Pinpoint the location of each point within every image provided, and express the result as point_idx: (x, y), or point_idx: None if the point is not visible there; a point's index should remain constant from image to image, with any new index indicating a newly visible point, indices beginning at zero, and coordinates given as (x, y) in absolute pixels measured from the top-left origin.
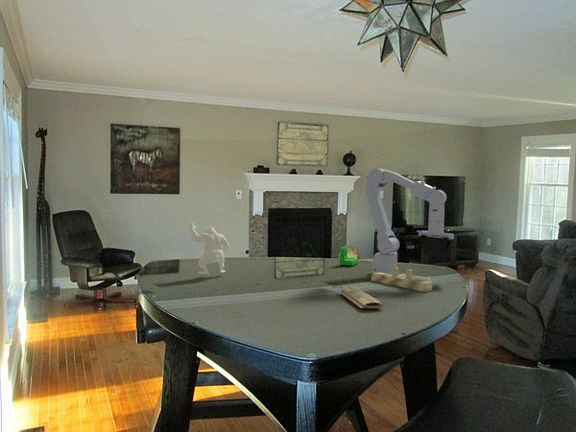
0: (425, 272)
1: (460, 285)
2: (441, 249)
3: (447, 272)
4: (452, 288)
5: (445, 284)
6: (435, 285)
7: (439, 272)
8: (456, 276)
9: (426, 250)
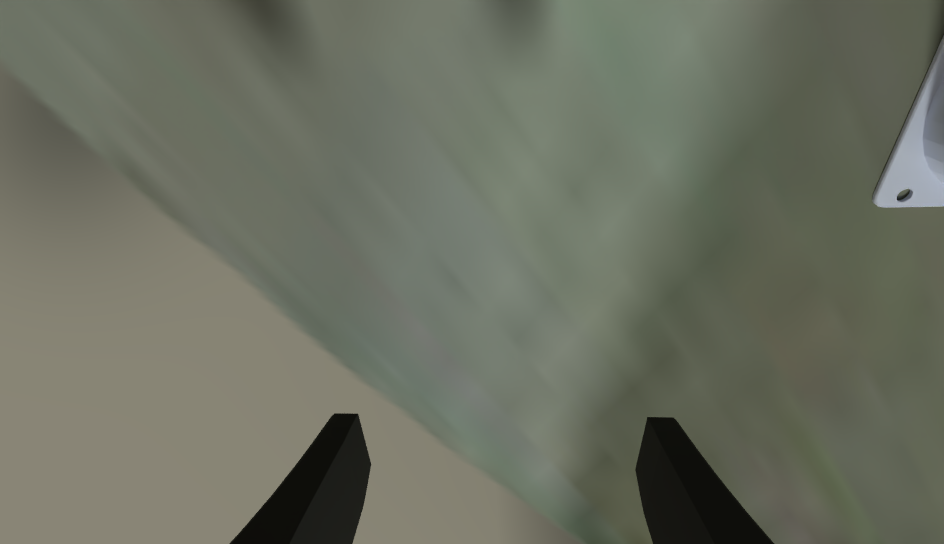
0: (727, 442)
1: (210, 230)
2: (293, 523)
3: (612, 525)
4: (90, 30)
5: (287, 155)
6: (276, 4)
7: None
8: (491, 470)
9: (669, 501)
